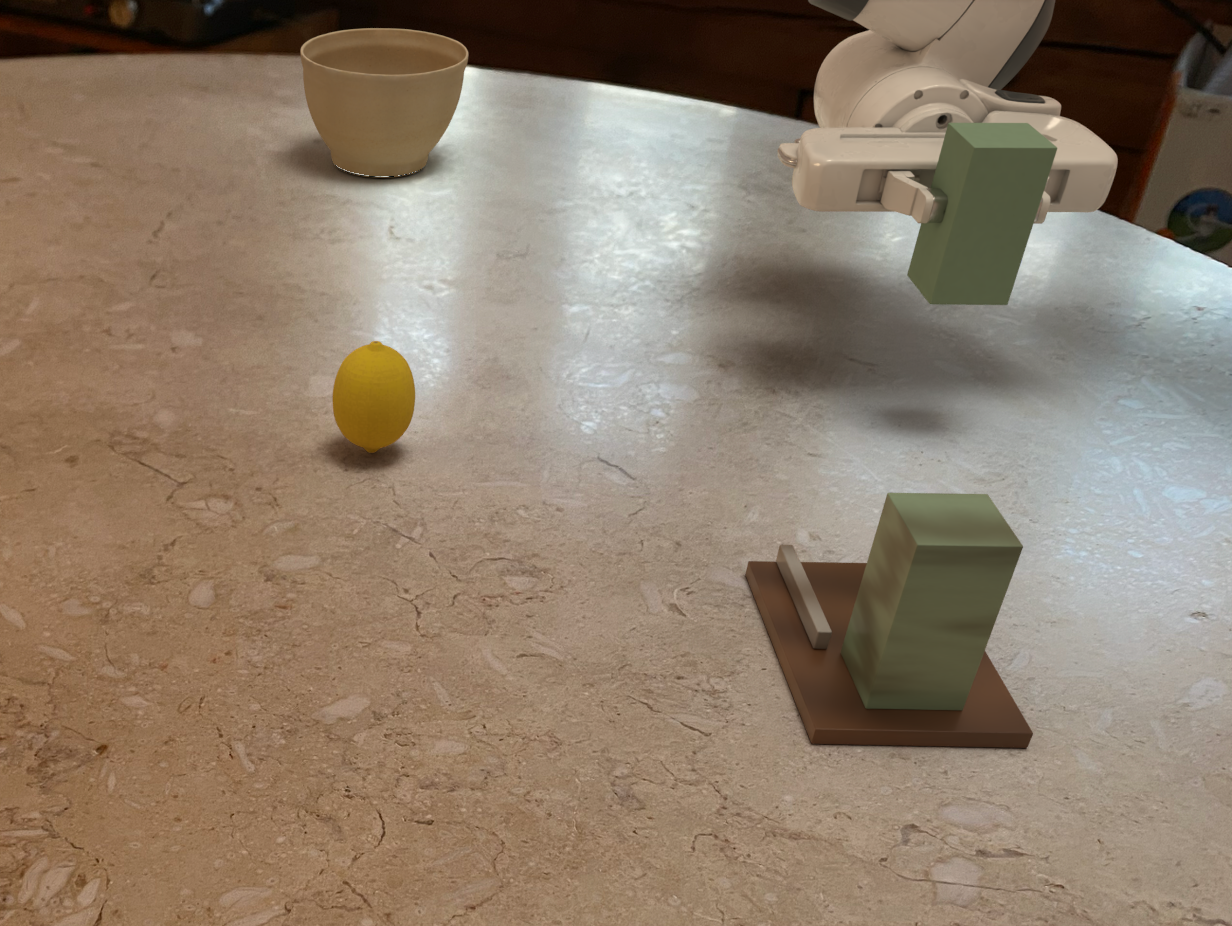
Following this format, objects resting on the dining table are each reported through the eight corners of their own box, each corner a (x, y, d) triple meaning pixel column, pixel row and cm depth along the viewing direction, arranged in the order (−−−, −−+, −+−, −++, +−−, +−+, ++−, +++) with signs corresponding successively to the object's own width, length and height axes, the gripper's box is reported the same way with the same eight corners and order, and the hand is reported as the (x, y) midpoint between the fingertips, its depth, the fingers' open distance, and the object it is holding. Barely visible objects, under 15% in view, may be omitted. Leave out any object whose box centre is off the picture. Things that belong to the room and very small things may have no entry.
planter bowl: (279, 183, 143) (279, 64, 136) (324, 133, 155) (326, 22, 148) (441, 199, 139) (449, 78, 132) (473, 147, 151) (483, 34, 144)
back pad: (906, 275, 99) (948, 122, 93) (981, 275, 99) (1028, 122, 93) (929, 304, 95) (974, 147, 89) (1007, 305, 95) (1058, 147, 89)
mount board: (744, 574, 88) (783, 407, 81) (930, 577, 87) (985, 410, 80) (811, 744, 75) (864, 563, 68) (1027, 748, 75) (1102, 567, 68)
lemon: (391, 427, 103) (396, 319, 98) (425, 463, 99) (433, 352, 94) (318, 441, 101) (320, 332, 96) (350, 478, 97) (354, 366, 92)
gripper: (780, 97, 102) (831, 160, 91) (1078, 97, 101) (1166, 161, 90) (762, 188, 106) (809, 259, 95) (1049, 188, 105) (1129, 261, 94)
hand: (986, 211), depth 93 cm, fingers closed on back pad, 5 cm apart
